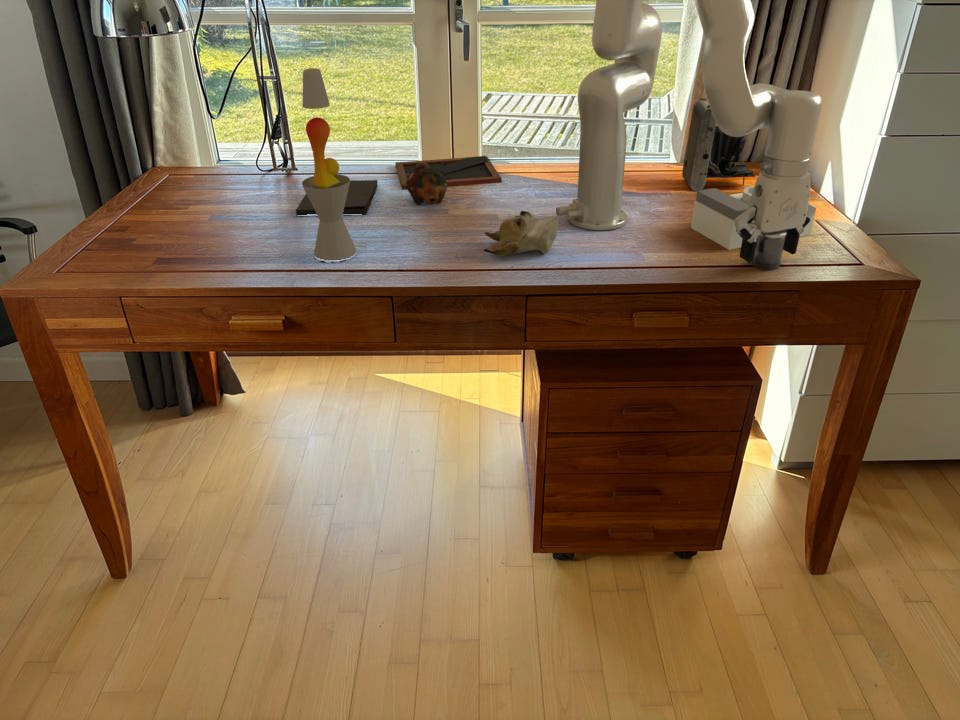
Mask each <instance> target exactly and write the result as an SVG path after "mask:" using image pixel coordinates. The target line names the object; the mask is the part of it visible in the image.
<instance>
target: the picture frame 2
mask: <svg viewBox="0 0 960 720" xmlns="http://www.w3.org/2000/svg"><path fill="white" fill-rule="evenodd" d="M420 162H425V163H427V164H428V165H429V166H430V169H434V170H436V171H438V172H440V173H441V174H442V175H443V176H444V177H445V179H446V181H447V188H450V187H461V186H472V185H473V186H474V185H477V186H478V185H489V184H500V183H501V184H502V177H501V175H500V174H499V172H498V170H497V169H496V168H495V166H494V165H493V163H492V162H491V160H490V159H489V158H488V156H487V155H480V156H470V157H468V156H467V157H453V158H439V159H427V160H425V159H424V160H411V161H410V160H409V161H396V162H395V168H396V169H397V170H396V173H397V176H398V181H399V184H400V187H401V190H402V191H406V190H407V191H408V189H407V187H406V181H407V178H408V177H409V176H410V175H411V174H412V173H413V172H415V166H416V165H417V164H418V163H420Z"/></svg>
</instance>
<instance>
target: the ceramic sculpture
mask: <svg viewBox="0 0 960 720" xmlns="http://www.w3.org/2000/svg"><path fill="white" fill-rule="evenodd" d="M559 220H560V216H557V215H556V216H553V217H552V216H551V217H548V218H545V219H537V218H536V216H535V215H534V213H531V212H530V211H525V210H521V211H520V213H519V215H511V216H508V217H506V218H505V219H504V220H502V222H501V223H500V225H499V229H498V230H497V231H495V232H490V231H485V232H484V235H485V236H486V237H488V238H490V239H491V240H494V241H496V242H494V243H492V245H490V246H489V247H487V248H483V252H484V253H487V254H491V255H495V256H503V257H504V256H508V255H510V254H521V253H525V252H530V251H535V250H537V251H540V252H541V253H542V254H547V253H549V251H550V250H551V248H552V247H553V244H554V241H555V240H556V238H557V235H558V228H559Z"/></svg>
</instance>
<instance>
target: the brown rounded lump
mask: <svg viewBox="0 0 960 720" xmlns="http://www.w3.org/2000/svg"><path fill="white" fill-rule="evenodd" d="M406 187H407V189H408V190H407V191H408V193H409V194H410V196H411V198H412V200H413V202H414V204H415V205H417V206H421V205H422V204H423V203H424V202H425V203H426V204H428V205H430V206H431V205H432V206H434V205H436V204H441V203H442V202H443V201H444V200H443V199H444V198H445V196H446V192H447V189H448V187H447V181H446V179H445V177H444V176H443V175H442V174H441V173H440V172H438V171H436V170H434V169H430V166H429V165H428V164H427V163H425V162H420V163H418V164H417V165H416V166H415V172H413V173H412V174H411V175H410V176H409V177H408V178H407V181H406Z"/></svg>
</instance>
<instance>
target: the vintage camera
mask: <svg viewBox="0 0 960 720" xmlns="http://www.w3.org/2000/svg"><path fill="white" fill-rule="evenodd" d="M687 135H688V137H687V143H686V148H685V154H684V160H683V167H682V170H681V171H682V173H681V175H682V178H683V179H684V181H685V183H686V184H687V185H688V187H689V188H690V189H691V190H692V191H693V192H697V191H700V190H704V187H705V185H706V181H707V179H716V178H717V179H735V178H737V179H738V178H742V179H743V180H742V185H743V186H745V178H756V176H757V175H756V174H755V173H754V171H753V170H751V169H750V168H749V167H748V166H747V164H746V163H736V162H735V161H734V162H732V158H733V157H738V156H739V155H740V154H741V153H742V152H743V150H744V147H745V144H746V142H747V141H748V139H747V138H745V137H743V136H741V137H732V136H729V135H727V134H725V133H724V132H722V131H721V129H720V128H719V127H718V125H717V124H716V122H715V120H714V117H713V115H712V112H711V109H710V105H709V102H708V99H706V98H703V97H700V98H699V99H698V100H696V102H694V104H693V107H692V114H691V120H690V124H689V130H688V134H687ZM731 162H732V163H731Z"/></svg>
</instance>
